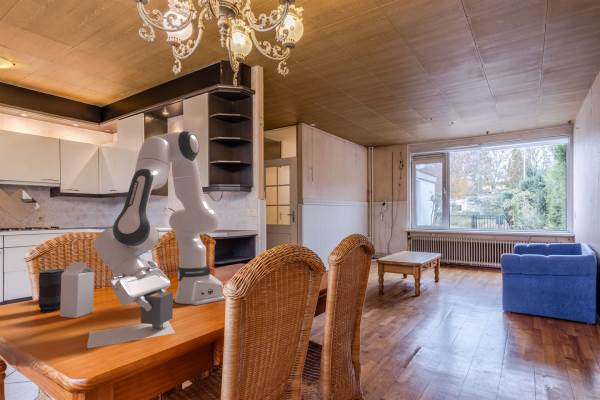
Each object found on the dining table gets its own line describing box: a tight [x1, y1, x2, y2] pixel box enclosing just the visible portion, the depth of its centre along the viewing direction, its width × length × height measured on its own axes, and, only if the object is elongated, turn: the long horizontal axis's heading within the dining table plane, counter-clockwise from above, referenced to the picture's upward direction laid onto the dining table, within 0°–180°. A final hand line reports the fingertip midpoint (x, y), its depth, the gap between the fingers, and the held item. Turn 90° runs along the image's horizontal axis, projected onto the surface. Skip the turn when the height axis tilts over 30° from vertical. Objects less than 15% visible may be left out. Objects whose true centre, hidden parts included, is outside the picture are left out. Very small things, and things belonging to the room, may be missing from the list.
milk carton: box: [59, 261, 95, 319], centre depth 120 cm, size 7×7×19 cm
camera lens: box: [38, 268, 65, 313], centre depth 126 cm, size 8×8×15 cm
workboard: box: [86, 320, 176, 349], centre depth 98 cm, size 22×14×2 cm, turn 120°
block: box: [140, 291, 174, 325], centre depth 102 cm, size 6×6×8 cm
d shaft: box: [152, 324, 163, 330], centre depth 102 cm, size 3×3×5 cm
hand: (159, 305), depth 101 cm, fingers closed on block, 6 cm apart
